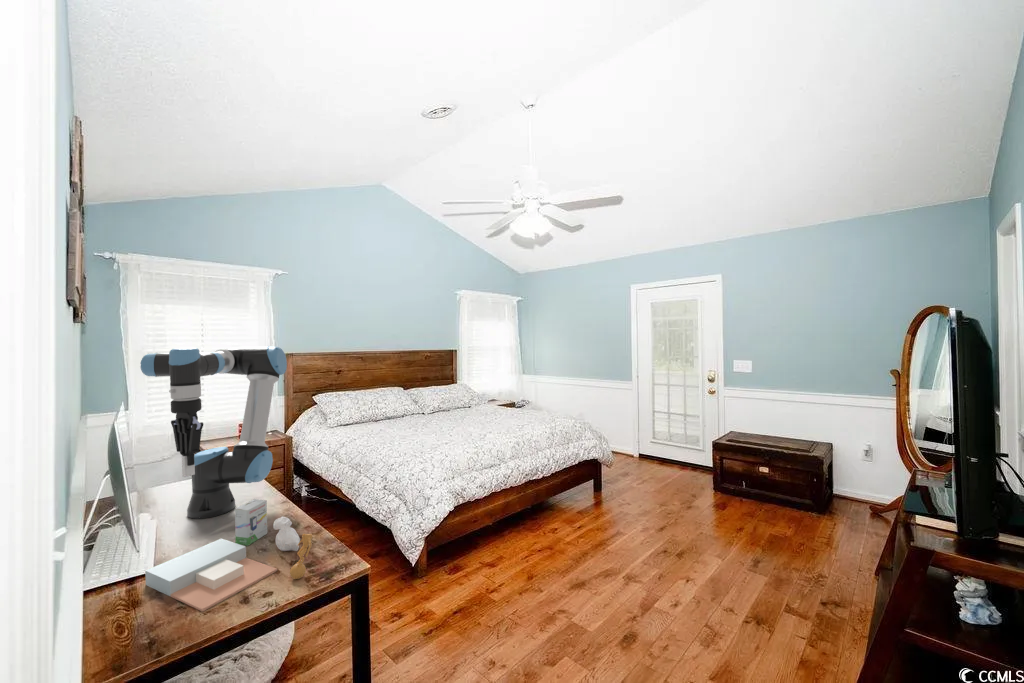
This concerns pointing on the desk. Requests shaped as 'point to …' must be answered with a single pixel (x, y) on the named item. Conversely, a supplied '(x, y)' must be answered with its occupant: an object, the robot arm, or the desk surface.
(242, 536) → the ink box
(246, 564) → the mat
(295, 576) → the figurine
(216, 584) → the coaster
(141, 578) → the desk surface
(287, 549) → the white tied bag
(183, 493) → the desk surface
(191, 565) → the plate
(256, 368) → the robot arm
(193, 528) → the desk surface
